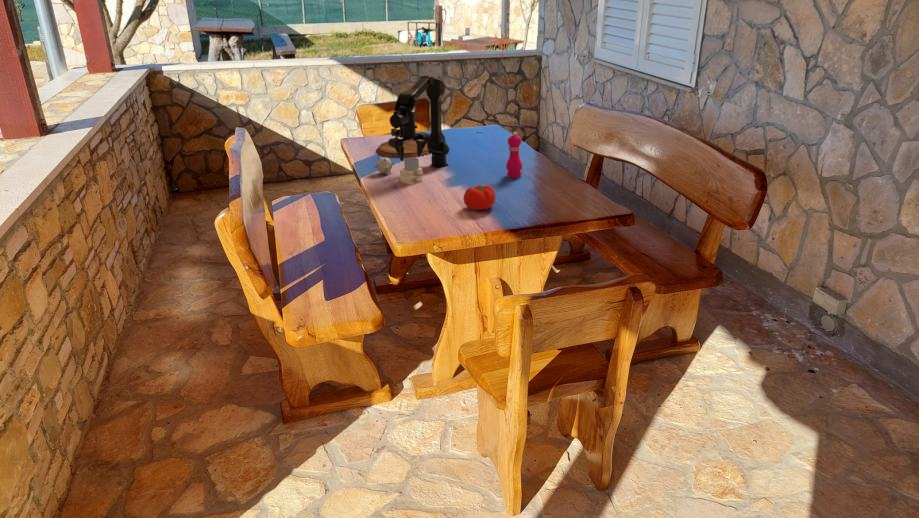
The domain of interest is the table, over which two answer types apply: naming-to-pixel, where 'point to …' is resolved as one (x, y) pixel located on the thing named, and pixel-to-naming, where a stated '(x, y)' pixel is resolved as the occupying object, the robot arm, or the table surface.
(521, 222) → the table surface
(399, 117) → the robot arm
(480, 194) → the tomato
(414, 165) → the cube
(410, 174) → the slab upper
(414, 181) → the slab lower
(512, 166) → the pepper mill
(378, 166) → the spiky ball
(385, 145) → the cutting board
